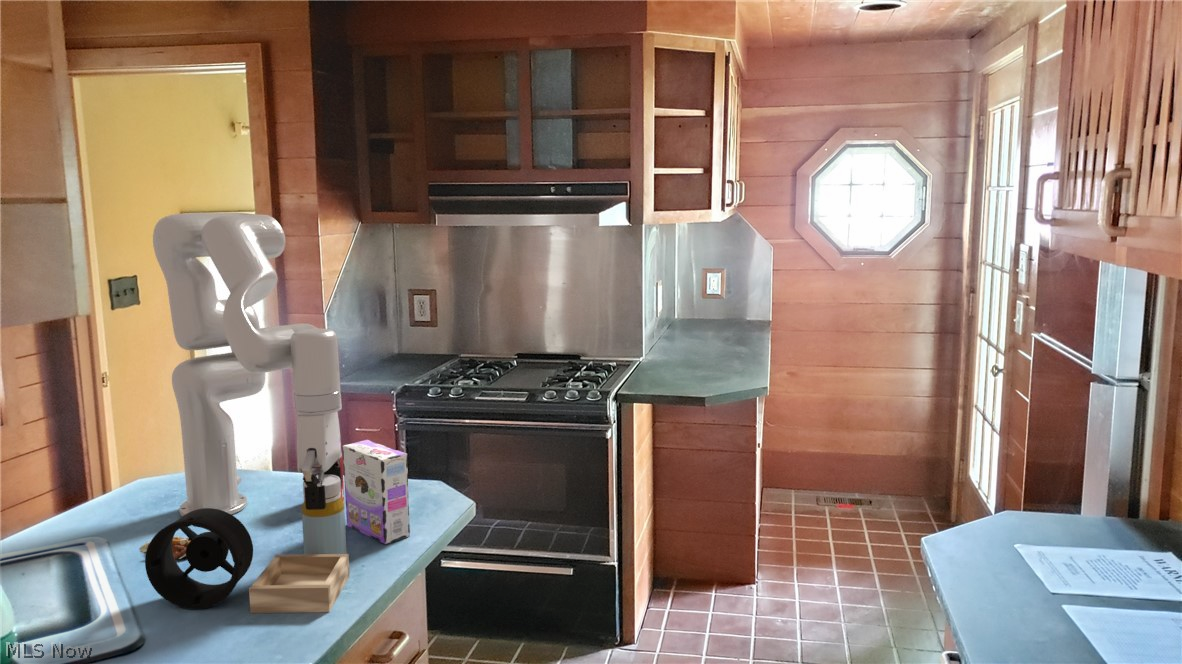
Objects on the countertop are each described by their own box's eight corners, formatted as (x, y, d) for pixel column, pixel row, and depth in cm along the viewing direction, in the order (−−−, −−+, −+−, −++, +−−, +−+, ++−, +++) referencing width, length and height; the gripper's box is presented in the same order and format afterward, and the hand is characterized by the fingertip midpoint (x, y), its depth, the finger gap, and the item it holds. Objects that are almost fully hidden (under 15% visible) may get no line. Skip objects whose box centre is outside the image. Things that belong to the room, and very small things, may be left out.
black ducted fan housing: (261, 498, 133) (234, 522, 124) (267, 580, 136) (241, 610, 126) (174, 497, 133) (140, 521, 124) (181, 580, 136) (148, 610, 126)
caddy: (277, 577, 137) (276, 554, 136) (349, 576, 137) (348, 553, 137) (250, 613, 125) (248, 588, 125) (329, 611, 126) (328, 587, 125)
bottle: (334, 573, 139) (330, 489, 136) (297, 569, 140) (292, 485, 138) (353, 555, 145) (350, 475, 143) (318, 552, 147) (313, 472, 144)
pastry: (155, 542, 152) (154, 524, 151) (211, 548, 149) (210, 529, 149) (127, 557, 145) (125, 539, 144) (185, 564, 143) (183, 545, 142)
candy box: (411, 536, 154) (408, 452, 151) (384, 546, 149) (381, 460, 147) (371, 517, 163) (368, 437, 160) (345, 525, 159) (341, 444, 156)
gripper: (311, 391, 146) (317, 482, 149) (278, 415, 129) (285, 518, 132) (353, 390, 146) (358, 481, 149) (325, 414, 129) (332, 516, 132)
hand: (324, 498), depth 140 cm, fingers open, 9 cm apart
